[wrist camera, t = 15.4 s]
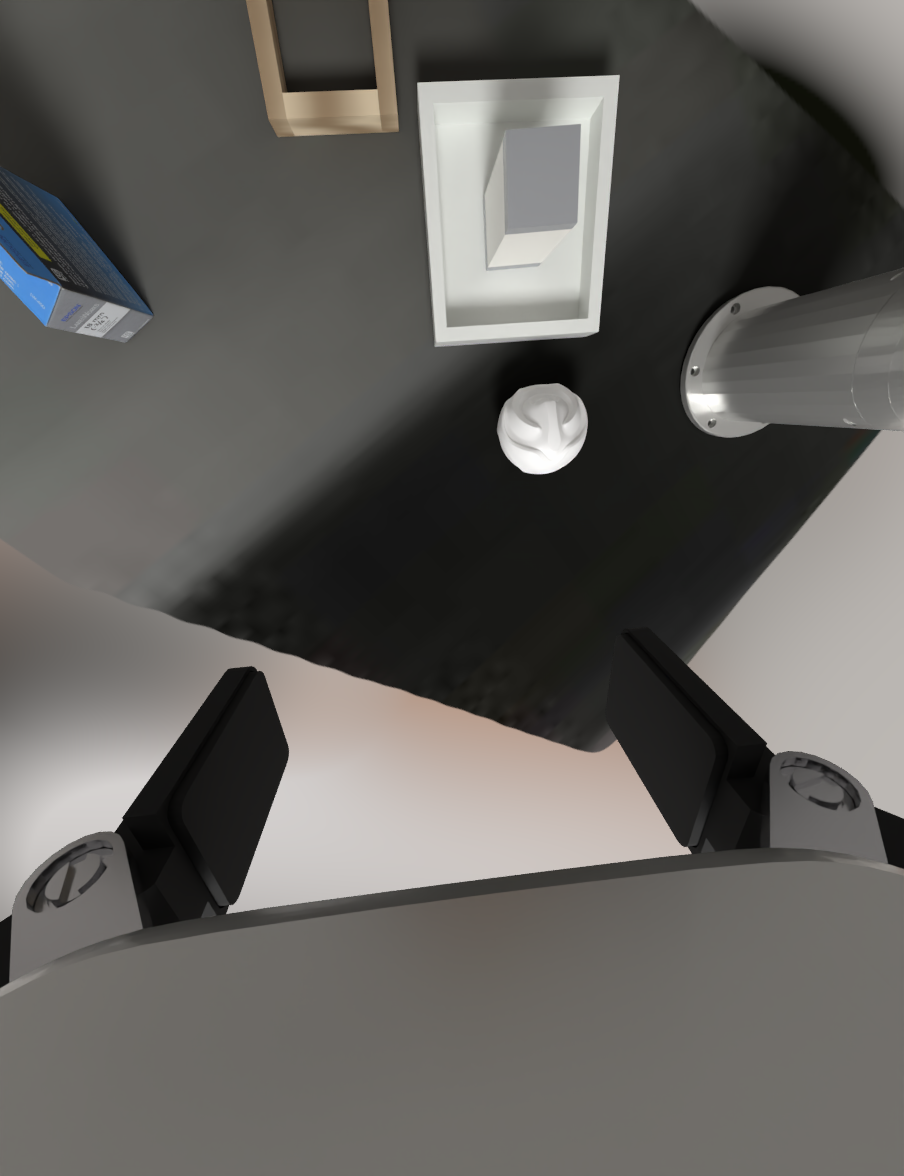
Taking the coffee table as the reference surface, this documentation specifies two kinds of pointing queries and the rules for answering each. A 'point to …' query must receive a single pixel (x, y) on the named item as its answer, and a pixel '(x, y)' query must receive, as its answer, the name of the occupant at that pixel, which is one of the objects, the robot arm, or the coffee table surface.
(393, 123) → the tan wooden flat frame
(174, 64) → the coffee table surface
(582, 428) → the white grooved ball
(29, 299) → the label tape cartridge
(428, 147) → the parts tray
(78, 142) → the coffee table surface
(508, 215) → the grey white rectangular block
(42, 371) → the coffee table surface
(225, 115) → the coffee table surface
